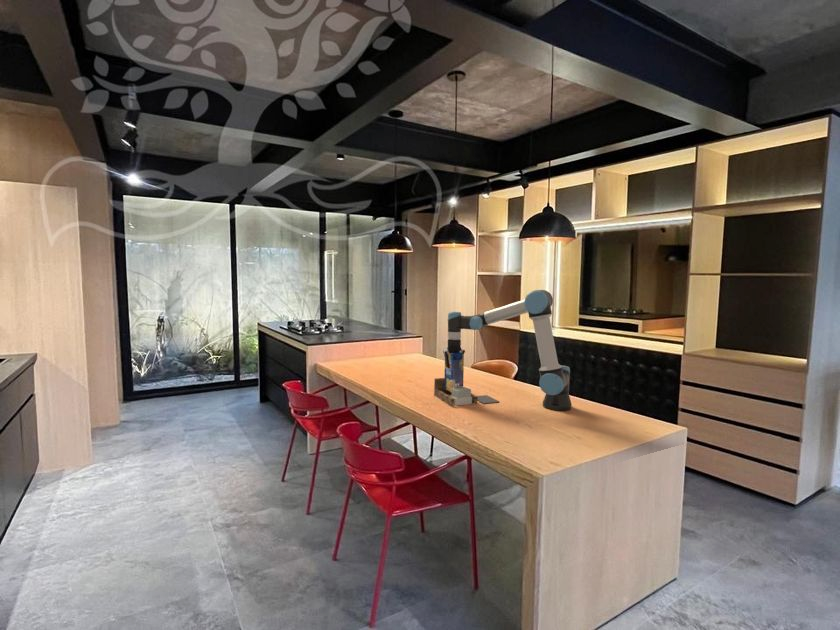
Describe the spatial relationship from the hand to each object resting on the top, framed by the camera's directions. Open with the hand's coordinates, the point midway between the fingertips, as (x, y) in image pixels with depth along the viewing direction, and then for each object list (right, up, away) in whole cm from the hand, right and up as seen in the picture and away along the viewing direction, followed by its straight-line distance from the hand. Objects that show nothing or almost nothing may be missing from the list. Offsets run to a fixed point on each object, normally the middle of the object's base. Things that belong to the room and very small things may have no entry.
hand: (453, 379), depth 262 cm
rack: (+1, -11, -2) cm, 11 cm away
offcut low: (+3, -12, -8) cm, 15 cm away
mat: (+18, -11, -2) cm, 21 cm away
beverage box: (0, -6, +1) cm, 6 cm away
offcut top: (+3, -8, -9) cm, 12 cm away
